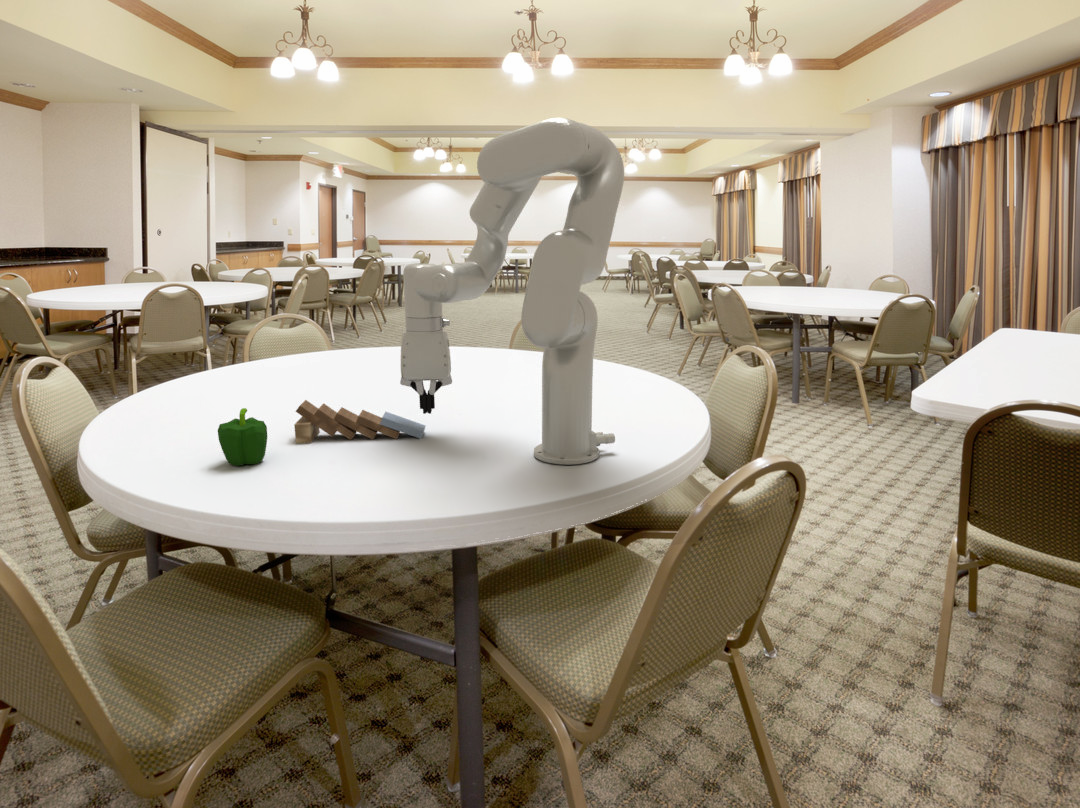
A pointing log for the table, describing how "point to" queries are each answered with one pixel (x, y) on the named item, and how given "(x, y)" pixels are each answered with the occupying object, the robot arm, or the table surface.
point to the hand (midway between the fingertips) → (427, 411)
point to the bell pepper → (243, 440)
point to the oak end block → (305, 431)
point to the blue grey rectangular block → (403, 425)
